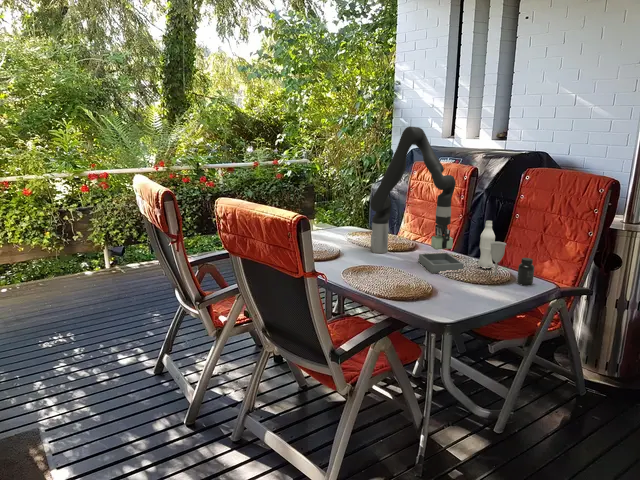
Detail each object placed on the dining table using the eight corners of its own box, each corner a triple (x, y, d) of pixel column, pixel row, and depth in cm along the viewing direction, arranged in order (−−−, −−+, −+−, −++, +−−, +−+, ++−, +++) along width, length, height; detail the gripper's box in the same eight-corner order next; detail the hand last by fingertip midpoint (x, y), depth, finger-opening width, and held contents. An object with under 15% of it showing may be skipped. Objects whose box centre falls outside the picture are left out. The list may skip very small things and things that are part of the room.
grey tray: (432, 273, 244) (433, 265, 243) (418, 262, 263) (419, 254, 262) (463, 272, 246) (463, 263, 245) (446, 260, 266) (447, 252, 264)
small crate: (435, 249, 249) (436, 239, 247) (431, 246, 254) (431, 236, 253) (452, 248, 250) (452, 238, 249) (447, 245, 256) (448, 235, 254)
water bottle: (493, 267, 254) (497, 220, 248) (491, 271, 248) (495, 223, 242) (478, 265, 257) (482, 219, 251) (476, 269, 251) (480, 221, 244)
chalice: (502, 277, 237) (506, 242, 233) (503, 282, 231) (506, 245, 227) (487, 276, 240) (490, 241, 235) (486, 280, 234) (490, 244, 229)
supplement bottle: (532, 282, 231) (535, 258, 228) (532, 286, 225) (535, 261, 222) (517, 280, 234) (519, 256, 231) (516, 284, 228) (519, 260, 225)
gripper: (431, 212, 254) (429, 243, 258) (442, 217, 240) (440, 250, 245) (444, 211, 255) (442, 242, 259) (456, 217, 242) (454, 249, 246)
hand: (441, 246), depth 252 cm, fingers closed on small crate, 6 cm apart
